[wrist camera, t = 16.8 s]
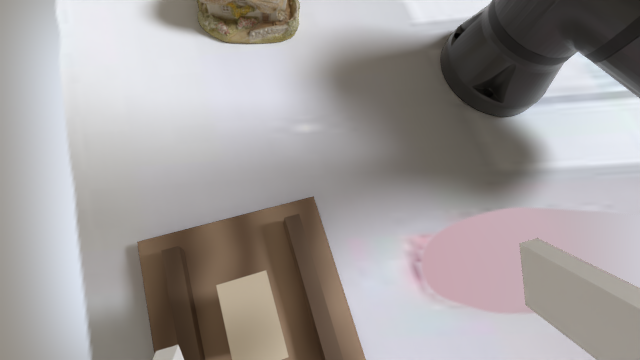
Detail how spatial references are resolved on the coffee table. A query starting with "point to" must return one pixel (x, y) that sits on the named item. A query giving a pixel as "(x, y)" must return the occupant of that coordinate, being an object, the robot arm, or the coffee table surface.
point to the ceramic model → (249, 20)
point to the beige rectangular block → (251, 319)
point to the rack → (240, 261)
